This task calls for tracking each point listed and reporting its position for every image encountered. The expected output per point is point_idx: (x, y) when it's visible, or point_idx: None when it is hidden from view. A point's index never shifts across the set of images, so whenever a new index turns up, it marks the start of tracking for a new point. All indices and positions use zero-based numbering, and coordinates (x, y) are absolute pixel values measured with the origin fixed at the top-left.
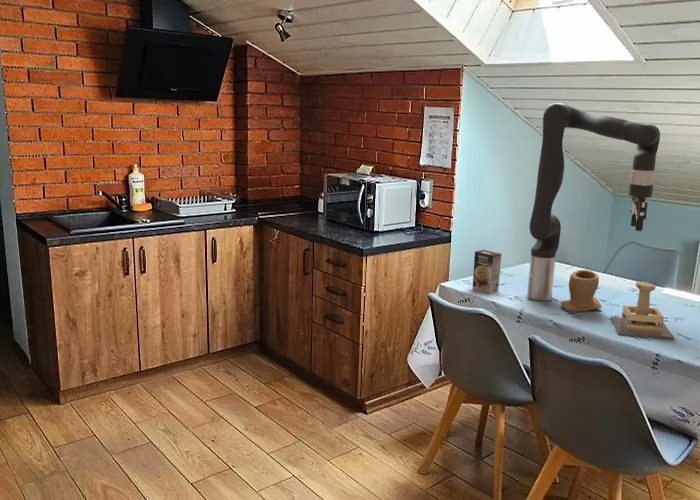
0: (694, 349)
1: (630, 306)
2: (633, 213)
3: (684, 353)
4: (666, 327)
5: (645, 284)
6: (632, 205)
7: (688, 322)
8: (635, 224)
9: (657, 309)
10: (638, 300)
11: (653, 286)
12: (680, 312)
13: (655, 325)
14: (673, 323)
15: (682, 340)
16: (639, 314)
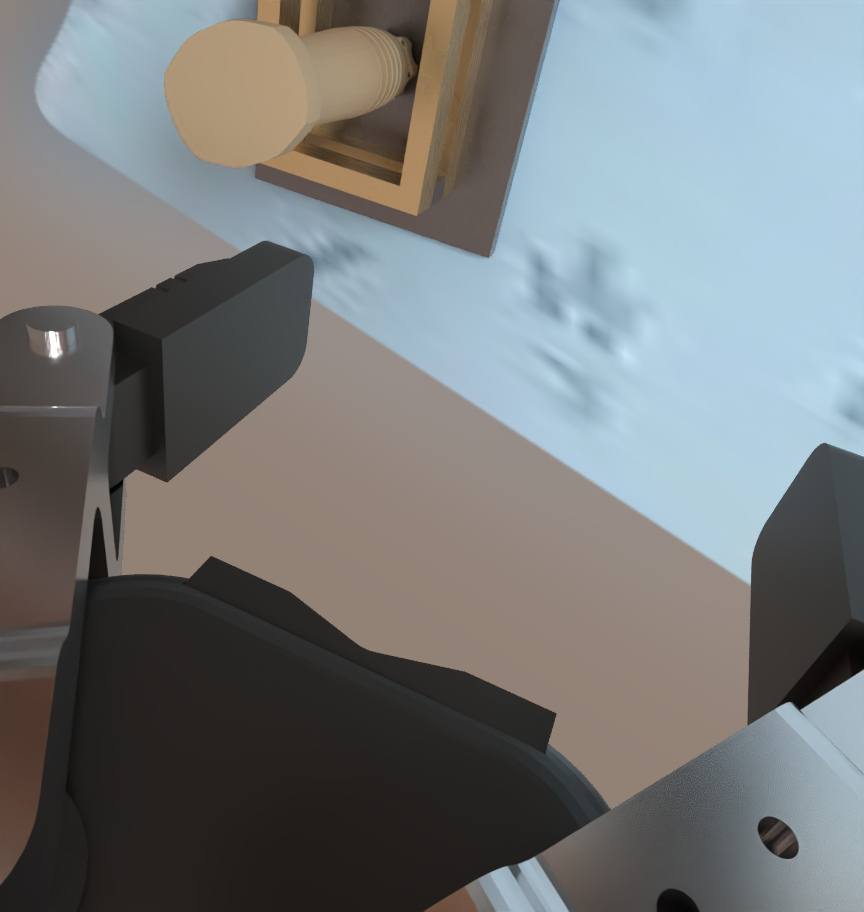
0: (174, 207)
1: (441, 25)
2: (813, 710)
3: (117, 130)
4: (390, 221)
5: (228, 92)
6: (484, 888)
7: (521, 407)
8: (777, 540)
9: (391, 204)
10: (304, 36)
11: (185, 134)
12: (685, 471)
13: (356, 144)
14: (505, 322)
15: (269, 218)
16: (274, 11)
